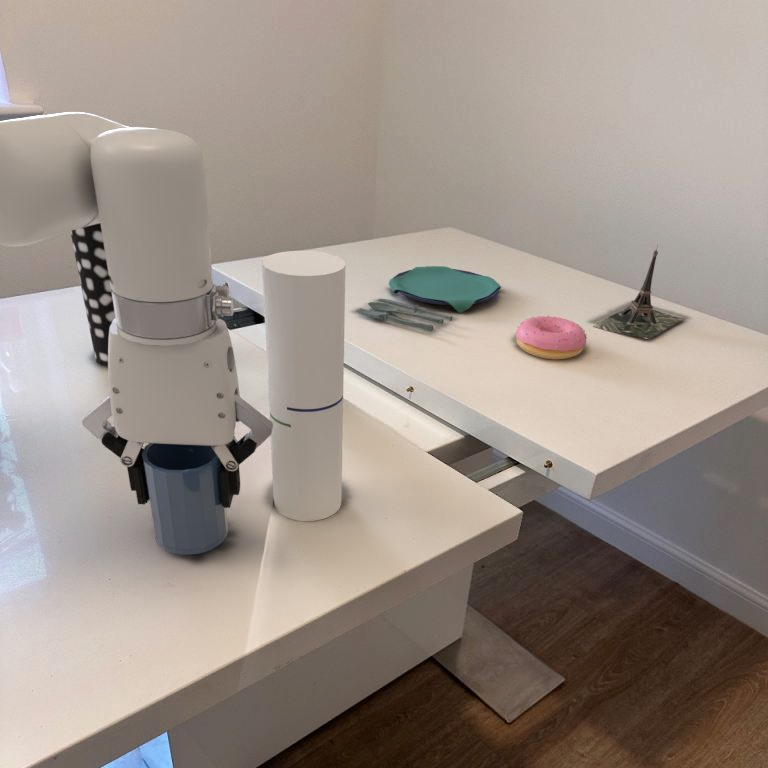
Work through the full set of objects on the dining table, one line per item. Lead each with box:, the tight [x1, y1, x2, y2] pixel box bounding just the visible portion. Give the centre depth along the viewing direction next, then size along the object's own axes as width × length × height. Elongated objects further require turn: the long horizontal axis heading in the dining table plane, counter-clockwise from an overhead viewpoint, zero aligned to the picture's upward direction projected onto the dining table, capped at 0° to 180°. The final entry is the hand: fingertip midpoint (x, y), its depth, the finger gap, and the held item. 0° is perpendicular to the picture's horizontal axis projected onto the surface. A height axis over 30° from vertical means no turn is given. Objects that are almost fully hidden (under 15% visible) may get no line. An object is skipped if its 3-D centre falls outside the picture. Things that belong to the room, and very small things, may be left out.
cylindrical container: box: [261, 250, 346, 522], centre depth 69 cm, size 7×7×25 cm
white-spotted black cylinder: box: [69, 223, 116, 368], centre depth 97 cm, size 8×8×20 cm
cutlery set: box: [355, 265, 502, 332], centre depth 128 cm, size 20×30×2 cm, turn 148°
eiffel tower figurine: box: [592, 244, 686, 340], centre depth 121 cm, size 15×10×13 cm
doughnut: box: [515, 315, 588, 360], centre depth 112 cm, size 11×11×4 cm
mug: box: [142, 443, 229, 556], centre depth 67 cm, size 11×7×9 cm, turn 1°
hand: (187, 496), depth 66 cm, fingers closed on mug, 6 cm apart
